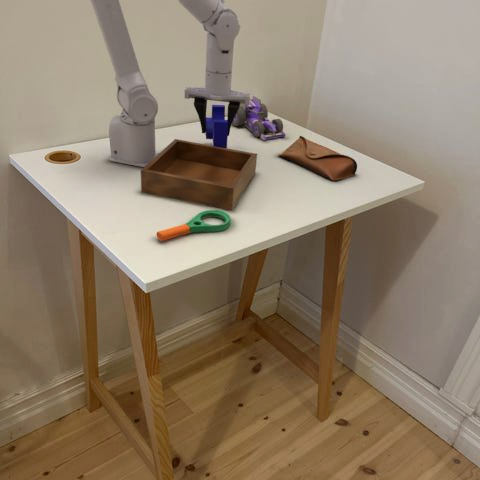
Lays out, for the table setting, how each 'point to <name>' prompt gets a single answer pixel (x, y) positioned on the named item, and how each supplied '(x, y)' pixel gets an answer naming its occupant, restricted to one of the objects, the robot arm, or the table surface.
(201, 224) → the magnifying glass
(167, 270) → the table surface
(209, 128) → the cable clip
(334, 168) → the sunglasses case
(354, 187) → the table surface
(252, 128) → the toy race car
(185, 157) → the crate
